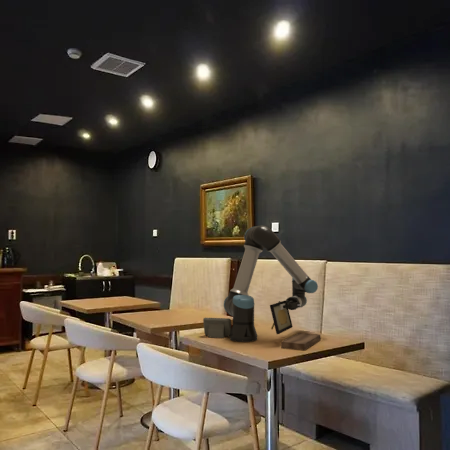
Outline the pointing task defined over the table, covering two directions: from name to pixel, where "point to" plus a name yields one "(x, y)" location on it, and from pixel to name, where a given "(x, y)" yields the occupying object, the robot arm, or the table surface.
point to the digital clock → (217, 327)
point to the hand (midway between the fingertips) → (279, 307)
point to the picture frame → (280, 318)
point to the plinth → (300, 341)
